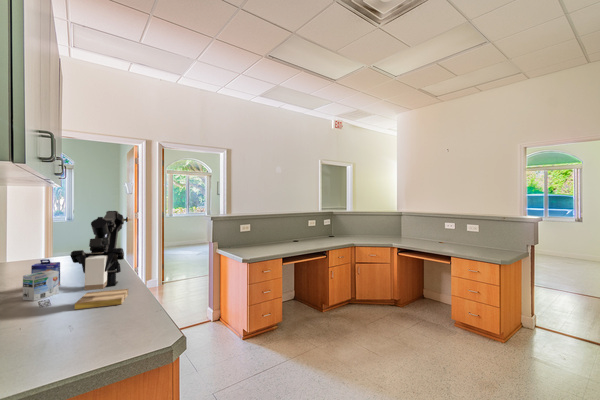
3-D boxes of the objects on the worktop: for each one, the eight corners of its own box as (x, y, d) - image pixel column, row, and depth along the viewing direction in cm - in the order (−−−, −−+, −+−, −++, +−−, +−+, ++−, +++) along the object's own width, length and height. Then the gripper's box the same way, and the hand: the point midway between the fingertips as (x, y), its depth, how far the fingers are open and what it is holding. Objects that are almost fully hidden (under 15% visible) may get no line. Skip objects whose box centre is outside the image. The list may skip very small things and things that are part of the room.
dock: (86, 298, 125) (86, 292, 125) (128, 294, 131) (128, 288, 131) (74, 309, 112) (74, 303, 112) (121, 304, 118) (121, 298, 118)
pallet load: (89, 286, 122) (90, 256, 122) (106, 284, 124) (107, 255, 124) (84, 290, 116) (85, 258, 116) (103, 288, 118) (104, 258, 118)
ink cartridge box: (30, 290, 135) (30, 260, 135) (36, 287, 141) (36, 258, 141) (55, 288, 139) (56, 259, 139) (60, 285, 144) (60, 257, 144)
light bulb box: (33, 301, 121) (33, 276, 121) (21, 300, 123) (21, 275, 123) (59, 293, 132) (59, 270, 132) (48, 292, 133) (48, 269, 133)
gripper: (71, 231, 120) (62, 263, 110) (123, 230, 127) (118, 259, 117) (77, 247, 127) (69, 278, 117) (125, 244, 134) (121, 273, 124)
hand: (94, 271), depth 119 cm, fingers closed on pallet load, 7 cm apart
